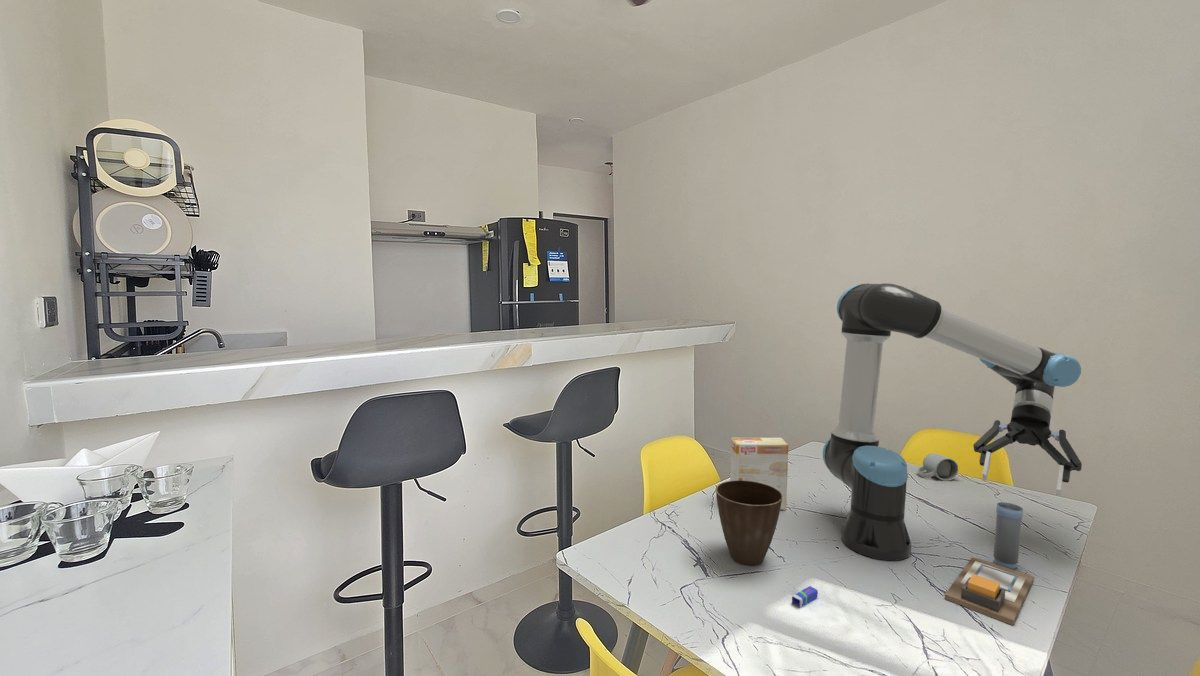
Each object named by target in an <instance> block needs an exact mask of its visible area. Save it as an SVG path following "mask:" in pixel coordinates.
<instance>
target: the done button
mask: <svg viewBox="0 0 1200 676" xmlns="http://www.w3.org/2000/svg"><path fill="white" fill-rule="evenodd" d="M967 589H968V590H970V591H973V592H976V593H978V594H981V595H984V596H987V597H989V598H992V599H995V600H996V598H997V596H998V594H999V590H1000V583H998V582H995V581H992V580H989V579H986V578H983V577H981V576H978V575H975V574H973V575H972V577H971V578H970V580H969V581H968V587H967Z"/></svg>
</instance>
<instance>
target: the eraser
mask: <svg viewBox="0 0 1200 676" xmlns="http://www.w3.org/2000/svg"><path fill="white" fill-rule="evenodd" d="M818 595H819V591H818V590H817V588H814V587H813V586H811V585H809V586H807V587H805V588H803V589H802V590H800V591H798V592H797V593H795V594H793V595H792V596H791V604H795V603H797V602H798V608H799V609H801V608H803V607H805V606H806V605H808V604H809V603H811V602H812V601H814V600H816V599H818ZM807 603H808V604H807Z"/></svg>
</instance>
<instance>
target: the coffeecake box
mask: <svg viewBox="0 0 1200 676" xmlns="http://www.w3.org/2000/svg"><path fill="white" fill-rule="evenodd" d="M730 440H731V441H730V472H729V473H730V475H729V477H730V478H729V479H730V480H729V481H736V480H742V481H753V482H758V483H762V484H766V485H769V486H771V487H773V488H775V489H777V490H778V491H780V492H781V494H782V502H781V507H780V511H782V510H783V511H786V510H787V504H788V503H787V500H788V499H787V498H788V497H787V496H788V495H787V494H788V493H787V492H788V472H789V471H788V469H789V466H788V465H789V464H788V463H789V443H787V442H786V441H785V440H784V439H783V438H782V437H735V436H734V437H731V439H730Z"/></svg>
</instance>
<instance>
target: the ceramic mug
mask: <svg viewBox="0 0 1200 676" xmlns="http://www.w3.org/2000/svg"><path fill="white" fill-rule="evenodd" d="M923 471H926V472H925V473H923ZM916 472H917V475H918V477H920V478H932V477H936V478H937V479H939V480H940V481H943V482H949V481H952V480H954V479H955V478H956V477H957V475H958V472H959V465H958V463H957V462H956V461H955V460H954V459H953V458H950V457H947V456H945V455H942V454H939V453H930V454H927V455H925V457H924V458H923V461H922V466H920V467H918V468H917V469H916Z"/></svg>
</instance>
